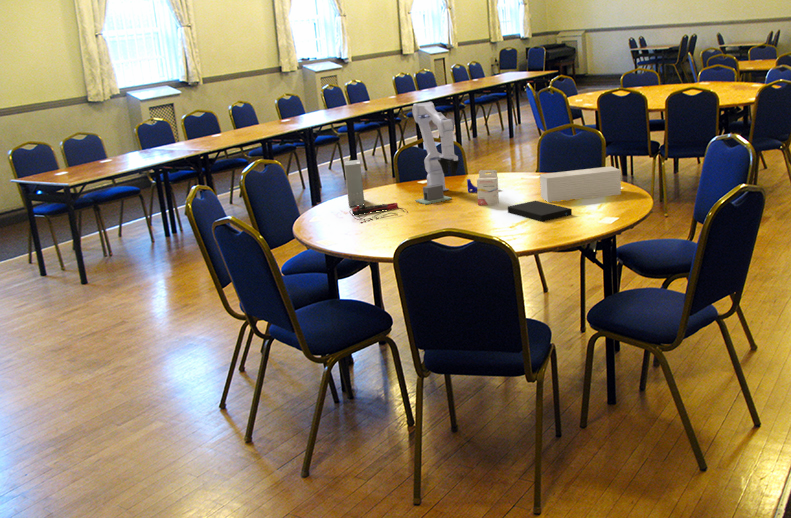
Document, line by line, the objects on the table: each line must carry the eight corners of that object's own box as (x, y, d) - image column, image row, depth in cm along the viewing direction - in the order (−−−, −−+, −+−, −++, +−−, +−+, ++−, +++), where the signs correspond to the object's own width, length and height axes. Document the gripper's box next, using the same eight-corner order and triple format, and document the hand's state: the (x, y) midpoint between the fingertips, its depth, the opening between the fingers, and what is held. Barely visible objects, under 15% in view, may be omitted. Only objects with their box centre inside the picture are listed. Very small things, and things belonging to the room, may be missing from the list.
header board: (415, 201, 336) (414, 195, 336) (441, 196, 342) (440, 190, 341) (425, 204, 328) (424, 198, 327) (451, 199, 333) (451, 193, 332)
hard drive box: (365, 205, 339) (360, 163, 334) (349, 207, 339) (343, 165, 333) (364, 199, 354) (359, 159, 349) (348, 201, 354) (343, 160, 348)
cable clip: (468, 193, 344) (467, 180, 342) (467, 191, 348) (466, 179, 346) (493, 190, 343) (492, 178, 342) (492, 189, 348) (491, 176, 346)
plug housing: (423, 199, 335) (422, 186, 333) (438, 196, 338) (437, 184, 337) (428, 201, 331) (427, 188, 329) (443, 197, 334) (442, 185, 332)
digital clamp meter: (343, 205, 325) (395, 197, 331) (344, 215, 326) (397, 206, 332) (355, 215, 303) (411, 205, 309) (356, 225, 304) (412, 216, 311)
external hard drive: (536, 207, 303) (536, 200, 302) (571, 216, 282) (571, 208, 282) (508, 213, 297) (507, 206, 296) (542, 222, 277) (541, 215, 276)
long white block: (547, 203, 308) (546, 178, 305) (541, 198, 318) (539, 174, 315) (620, 194, 309) (620, 169, 306) (612, 190, 319) (611, 166, 316)
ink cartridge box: (477, 205, 315) (475, 172, 311) (480, 203, 320) (478, 170, 316) (497, 205, 312) (495, 171, 308) (499, 202, 317) (497, 169, 313)
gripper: (432, 145, 341) (435, 174, 345) (447, 148, 328) (450, 177, 332) (445, 143, 344) (447, 171, 348) (461, 145, 331) (463, 175, 335)
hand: (449, 174), depth 340 cm, fingers open, 7 cm apart
